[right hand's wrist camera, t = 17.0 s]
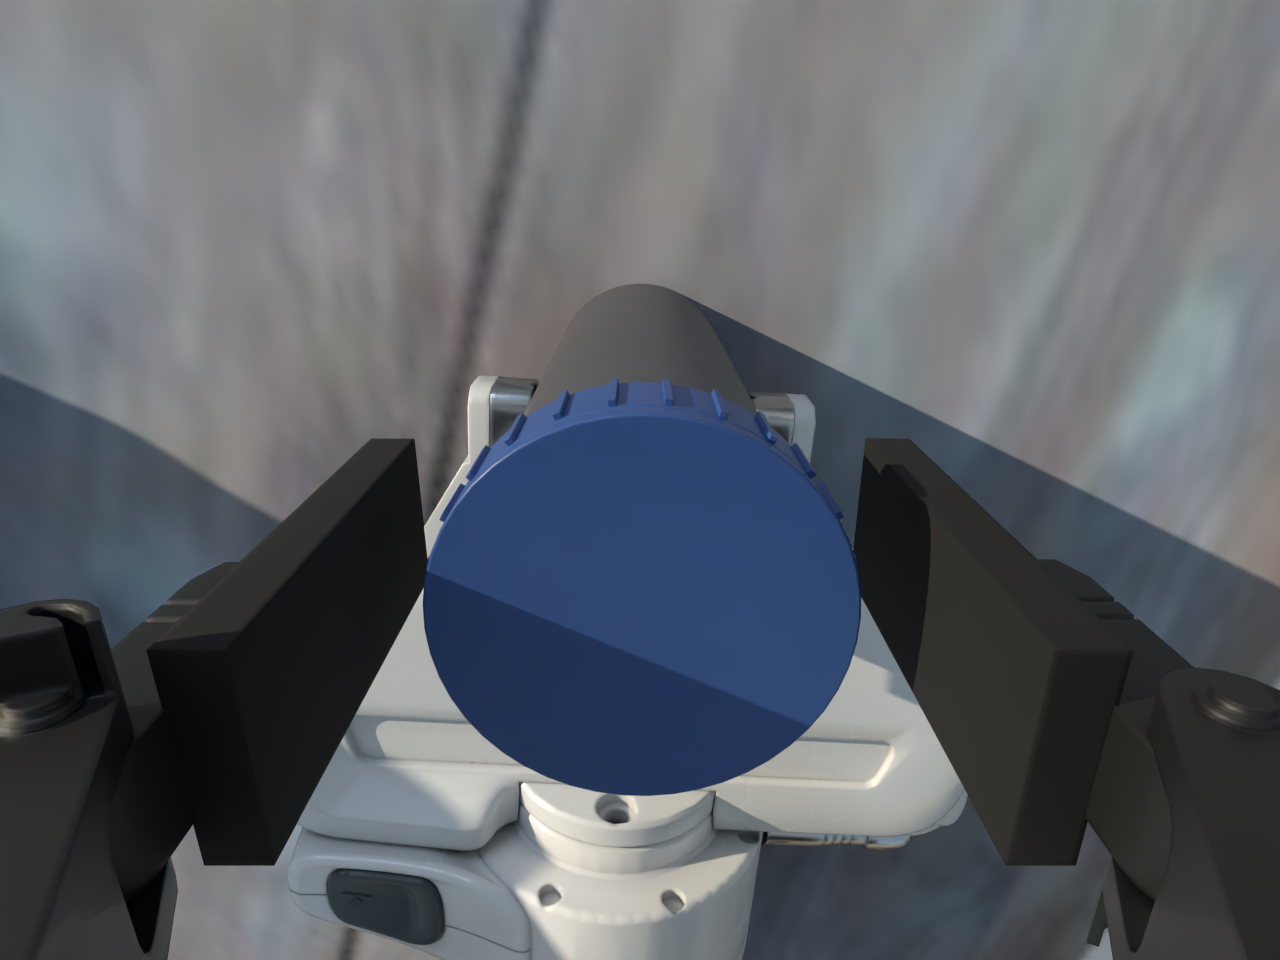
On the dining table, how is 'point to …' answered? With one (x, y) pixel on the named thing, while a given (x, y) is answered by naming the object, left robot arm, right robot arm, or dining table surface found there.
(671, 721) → the lid
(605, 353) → the jar
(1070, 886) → the dining table surface
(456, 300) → the dining table surface
